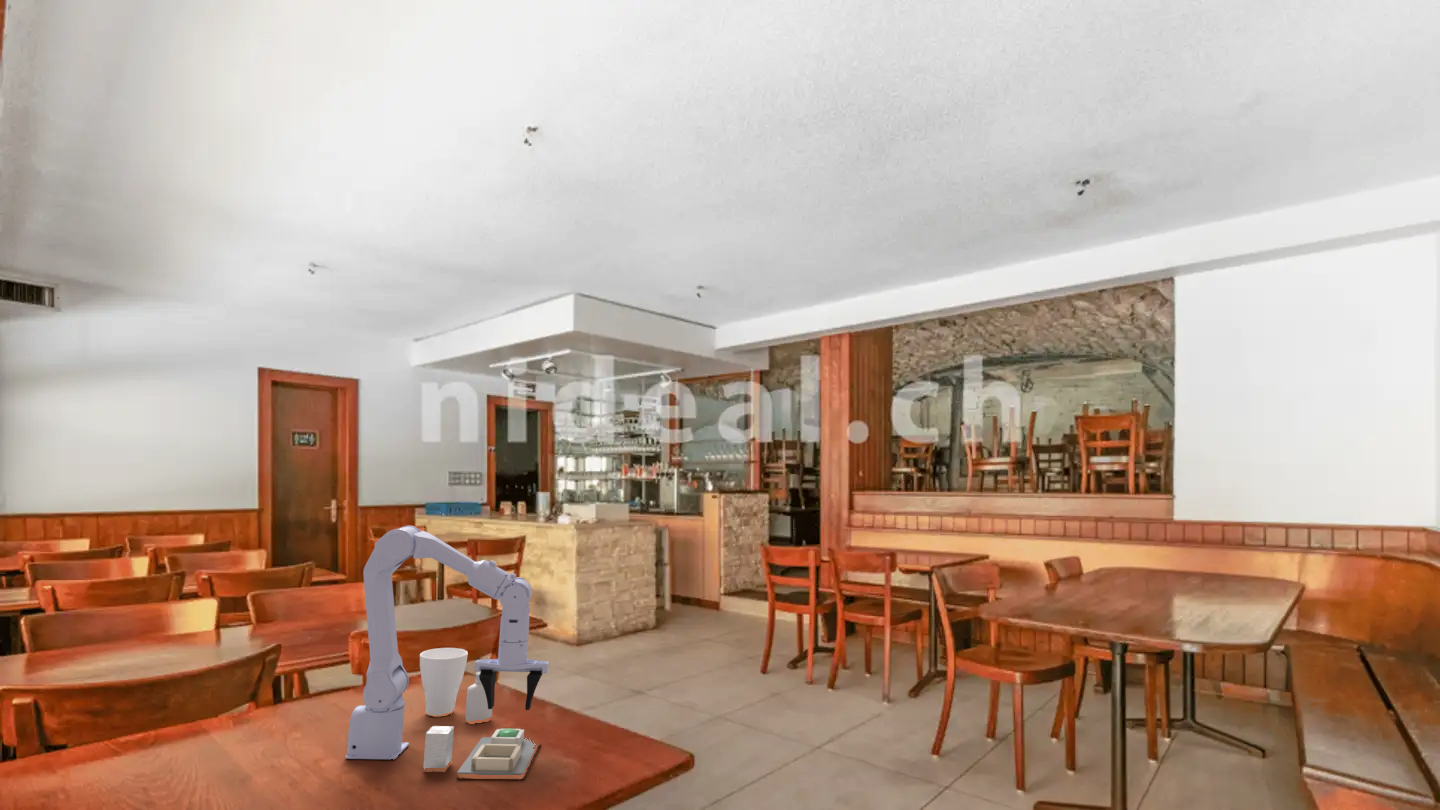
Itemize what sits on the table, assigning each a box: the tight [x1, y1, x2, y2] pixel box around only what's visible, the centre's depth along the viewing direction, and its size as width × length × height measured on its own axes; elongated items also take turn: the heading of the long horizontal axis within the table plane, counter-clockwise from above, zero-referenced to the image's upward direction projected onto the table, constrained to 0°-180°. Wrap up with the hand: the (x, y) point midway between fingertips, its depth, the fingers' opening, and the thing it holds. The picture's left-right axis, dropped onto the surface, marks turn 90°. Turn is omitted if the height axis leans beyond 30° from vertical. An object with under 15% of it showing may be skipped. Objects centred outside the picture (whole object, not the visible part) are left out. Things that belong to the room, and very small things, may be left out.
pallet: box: [456, 728, 537, 775], centre depth 146 cm, size 12×18×3 cm, turn 3°
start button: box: [500, 727, 516, 737], centre depth 151 cm, size 3×3×2 cm
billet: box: [423, 725, 455, 769], centre depth 142 cm, size 4×4×7 cm
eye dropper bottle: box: [464, 671, 493, 721], centre depth 168 cm, size 4×6×12 cm
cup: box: [419, 647, 469, 715], centre depth 172 cm, size 10×10×14 cm
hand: (509, 708), depth 152 cm, fingers open, 7 cm apart
